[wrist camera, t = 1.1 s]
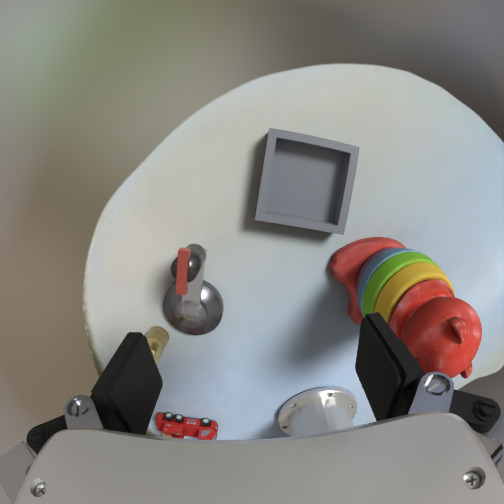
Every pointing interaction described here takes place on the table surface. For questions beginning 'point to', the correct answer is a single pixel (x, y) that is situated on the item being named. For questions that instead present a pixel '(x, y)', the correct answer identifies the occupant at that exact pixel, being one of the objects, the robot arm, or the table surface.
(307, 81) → the table surface
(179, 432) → the toy fire truck
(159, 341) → the pin
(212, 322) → the hub
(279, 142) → the tray
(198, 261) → the crank
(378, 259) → the stacking bear
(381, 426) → the robot arm
